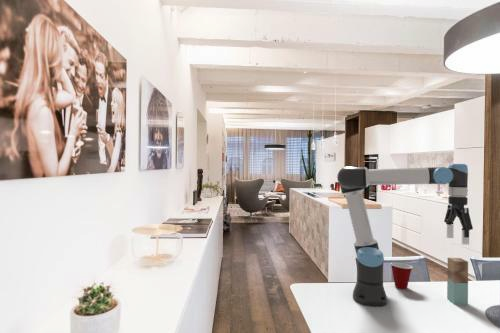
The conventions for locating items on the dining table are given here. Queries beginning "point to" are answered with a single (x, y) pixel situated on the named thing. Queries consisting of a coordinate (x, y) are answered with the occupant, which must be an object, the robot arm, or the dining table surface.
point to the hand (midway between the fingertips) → (457, 241)
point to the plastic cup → (401, 274)
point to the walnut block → (457, 270)
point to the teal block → (457, 292)
